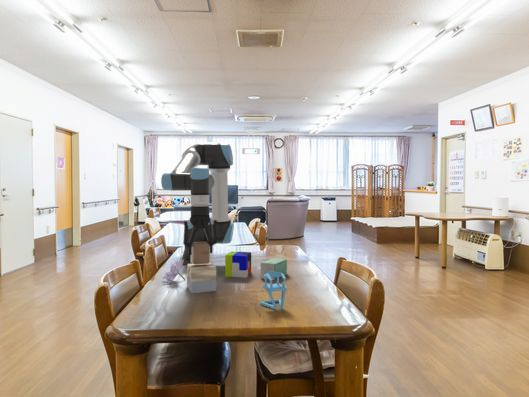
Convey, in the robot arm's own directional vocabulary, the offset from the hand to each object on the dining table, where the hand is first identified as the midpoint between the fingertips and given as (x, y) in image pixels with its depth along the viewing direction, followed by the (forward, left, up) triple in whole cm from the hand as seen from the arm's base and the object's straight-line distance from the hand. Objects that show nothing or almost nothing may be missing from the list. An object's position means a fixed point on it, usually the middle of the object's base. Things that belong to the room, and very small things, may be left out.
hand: (200, 261), depth 155 cm
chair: (+31, +20, -11) cm, 39 cm away
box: (-9, +37, -11) cm, 40 cm away
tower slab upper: (0, 0, -6) cm, 7 cm away
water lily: (-17, -9, -11) cm, 22 cm away
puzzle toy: (-18, +22, -11) cm, 31 cm away
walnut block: (0, 0, 0) cm, 0 cm away
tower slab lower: (0, 0, -11) cm, 11 cm away
